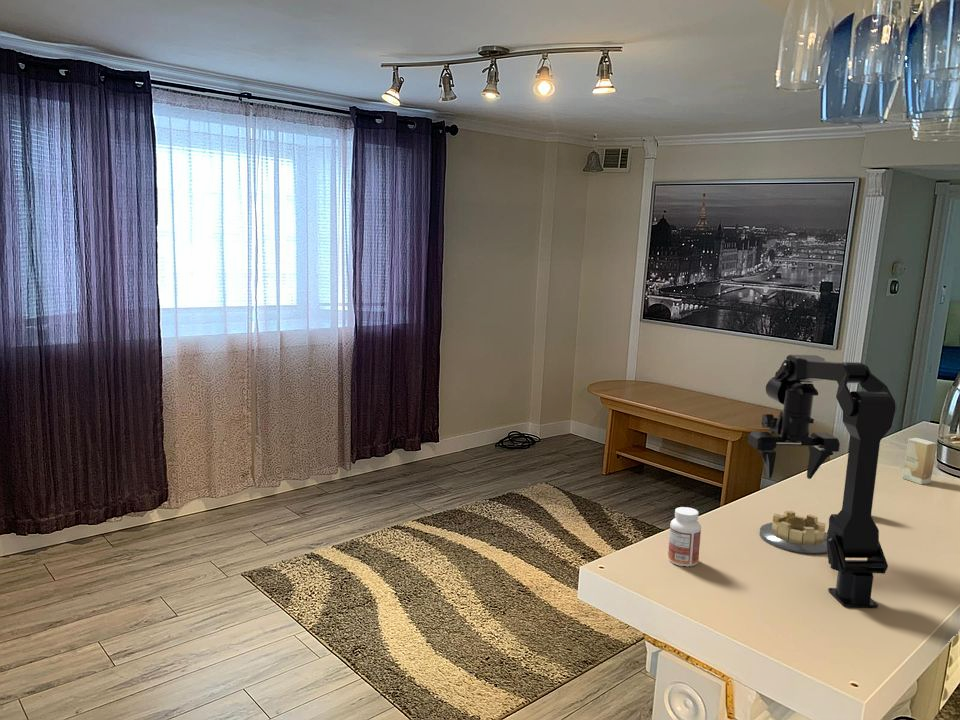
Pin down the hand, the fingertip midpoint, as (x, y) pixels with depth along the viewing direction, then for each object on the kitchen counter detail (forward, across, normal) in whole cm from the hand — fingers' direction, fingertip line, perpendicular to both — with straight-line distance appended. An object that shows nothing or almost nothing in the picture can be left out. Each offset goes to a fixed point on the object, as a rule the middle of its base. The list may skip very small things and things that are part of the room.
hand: (789, 478), depth 163 cm
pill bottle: (+14, +27, +12) cm, 33 cm away
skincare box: (+16, -62, -43) cm, 77 cm away
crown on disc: (+14, -3, +1) cm, 15 cm away
